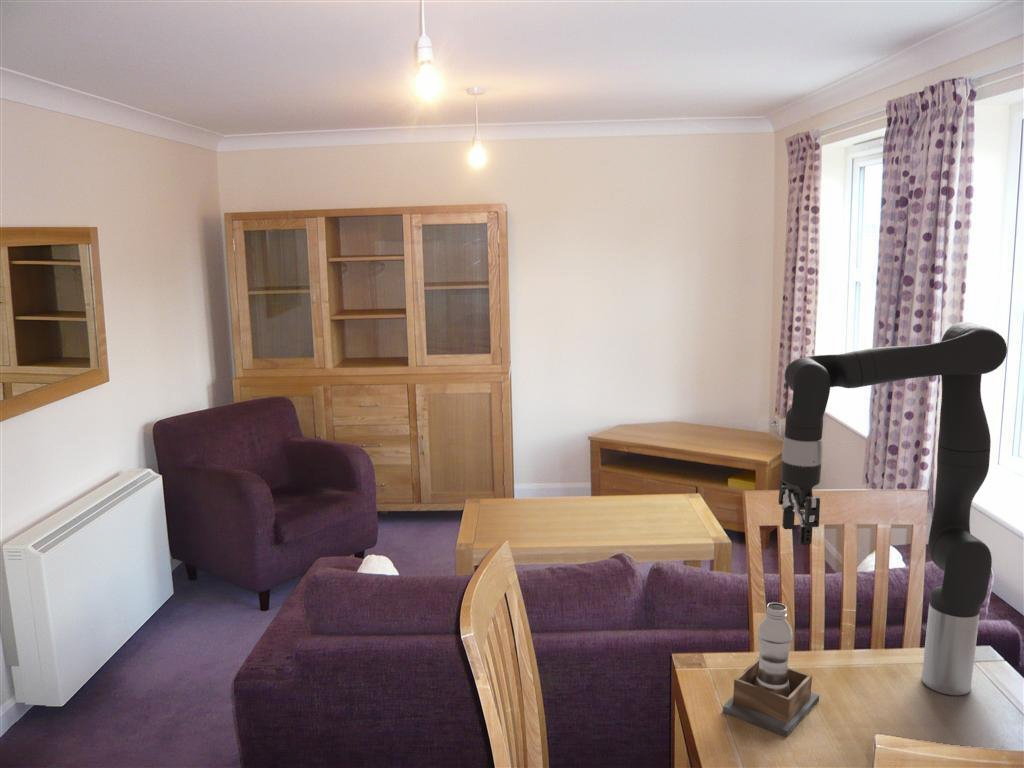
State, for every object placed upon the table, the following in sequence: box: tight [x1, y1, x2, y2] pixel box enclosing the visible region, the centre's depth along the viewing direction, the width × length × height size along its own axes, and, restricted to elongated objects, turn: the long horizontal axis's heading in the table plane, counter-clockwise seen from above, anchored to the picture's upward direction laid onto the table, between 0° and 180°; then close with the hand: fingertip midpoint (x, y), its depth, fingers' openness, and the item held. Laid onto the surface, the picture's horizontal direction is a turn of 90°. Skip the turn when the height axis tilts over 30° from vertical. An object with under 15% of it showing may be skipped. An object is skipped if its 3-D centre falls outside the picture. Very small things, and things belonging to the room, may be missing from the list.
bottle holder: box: [722, 656, 820, 738], centre depth 172 cm, size 16×13×6 cm
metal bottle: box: [755, 602, 794, 697], centre depth 170 cm, size 6×7×20 cm
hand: (796, 536), depth 175 cm, fingers open, 8 cm apart
